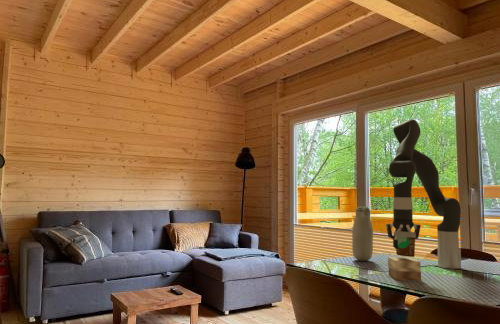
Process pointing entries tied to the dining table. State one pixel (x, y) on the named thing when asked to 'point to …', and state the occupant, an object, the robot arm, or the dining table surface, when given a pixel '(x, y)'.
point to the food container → (405, 243)
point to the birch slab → (404, 264)
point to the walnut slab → (405, 275)
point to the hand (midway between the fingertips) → (403, 248)
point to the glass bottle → (362, 235)
